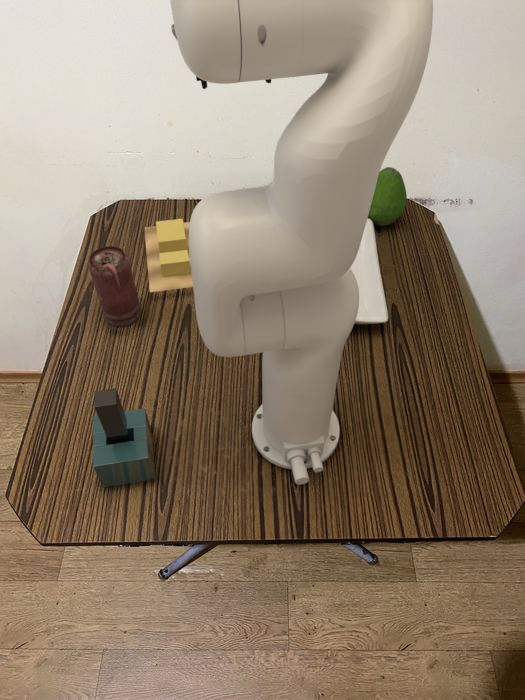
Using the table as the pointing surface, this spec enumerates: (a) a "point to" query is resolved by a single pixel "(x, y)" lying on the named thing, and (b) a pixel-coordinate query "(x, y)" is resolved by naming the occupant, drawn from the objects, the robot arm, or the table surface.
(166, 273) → the block
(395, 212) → the fruit
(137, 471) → the stand
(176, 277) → the butter board
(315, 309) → the robot arm
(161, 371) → the table surface
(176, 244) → the butter block
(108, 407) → the knife
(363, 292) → the square plate
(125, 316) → the can
